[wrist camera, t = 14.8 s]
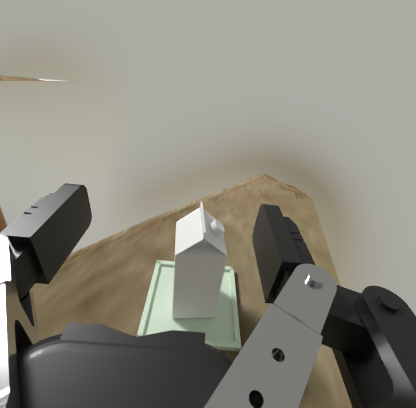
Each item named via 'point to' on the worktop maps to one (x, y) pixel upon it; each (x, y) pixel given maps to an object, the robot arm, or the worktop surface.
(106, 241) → the worktop surface
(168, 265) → the tray
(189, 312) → the milk carton
